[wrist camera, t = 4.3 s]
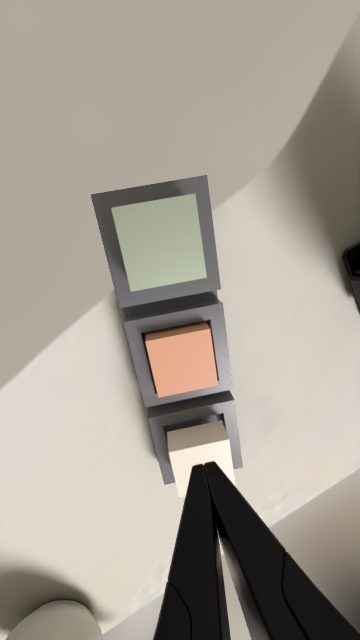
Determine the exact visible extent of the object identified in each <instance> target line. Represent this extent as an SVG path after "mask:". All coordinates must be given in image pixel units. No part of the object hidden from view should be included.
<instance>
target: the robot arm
mask: <svg viewBox="0 0 360 640" xmlns="http://www.w3.org/2000/svg"><path fill="white" fill-rule="evenodd" d="M351 252H352V256H351V257H350V253H351ZM343 260H344V263H345V266H346V269H347V272H348V274H349V277H350V283H351V286H352V289H353V292H354V295H355V298H356V301H357V304H358V306H359V307H360V242H358V243H356V244H355V245H353V246H351V247H349V248H348V249H346V250H345V251H344V253H343ZM217 531H218V532H217ZM218 535H219V537H218ZM219 539H220V542H221V545H222V549H223V552H224V555H225V558H226V561H227V564H228V567H229V570H230V573H231V577H232V580H233V583H234V586H235V589H236V592H237V595H238V599H239V602H240V605H241V608H242V611H243V614H244V617H245V620H246V624H247V627H248V630H249V633H250V636H251V639H252V640H360V632H358V630H357V629H356V628H355V627H354V626H353V625H352V624H351V623H350V622H349V621H348V620H347V619H346V618H345V617H344V616H343V615H342V614H341V613H340V611H339V610H338V609H337V608H335V606H334V605H333V604H332V603H331V602H330V601H329V600H328V599H327V598H326V596H325V595H324V594H323V593H322V592H321V591H320V590H319V589H318V588H317V587H316V585H315V584H314V583H313V582H312V581H311V580H310V578H309V577H308V576H307V575H306V574H305V572H304V571H303V570H302V569H301V568H300V566H299V565H298V564H297V563H296V562H295V560H294V559H293V558H292V557H291V555H290V554H289V553H288V552H286V549H285V548H284V547H283V545H282V544H281V543H280V542H279V540H278V539H277V538H276V537H275V535H274V534H273V533H272V532H271V530H270V529H269V528H268V527H267V525H266V524H265V523H264V522H263V521H262V519H261V518H260V517H259V516H258V514H257V513H256V512H255V511H254V509H253V508H252V507H251V506H250V504H249V503H248V502H247V501H246V499H245V498H244V497H243V496H242V494H241V493H240V492H239V491H238V489H237V488H236V487H235V486H234V484H233V483H232V482H231V481H230V479H229V478H228V477H227V476H226V474H225V473H224V472H223V471H222V469H221V468H220V467H219V466H218V464H217V463H216V462H215V461H211V462H206V463H204V465H203V464H197V465H194V466H192V469H191V473H190V478H189V483H188V487H187V492H186V497H185V501H184V506H183V510H182V515H181V520H180V524H179V529H178V533H177V538H176V543H175V547H174V552H173V557H172V561H171V566H170V570H169V575H168V582H167V584H166V588H165V593H164V597H163V603H162V606H161V610H160V614H159V619H158V622H157V627H156V630H155V634H154V637H153V640H231V637H230V629H229V620H228V612H227V603H226V595H225V587H224V579H223V569H222V561H221V552H220V544H219Z"/></svg>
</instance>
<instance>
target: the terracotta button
mask: <svg viewBox="0 0 360 640" xmlns="http://www.w3.org/2000/svg"><path fill="white" fill-rule="evenodd" d="M145 342H146V347H147V351H148V355H149V360H150V364H151V368H152V372H153V377H154V381H155V385H156V390H157V394H158V398H160V397H164V396H169V395H174V394H179V393H184V392H189V391H193V390H198V389H203V388H208V387H213V386H218V380H217V373H216V366H215V359H214V352H213V345H212V338H211V331H210V328H209V326H208V325H207V323H206V322H205V321H200V322H195V323H190V324H185V325H179V326H174V327H169V328H164V329H159V330H154V331H149V332H146V340H145Z"/></svg>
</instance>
